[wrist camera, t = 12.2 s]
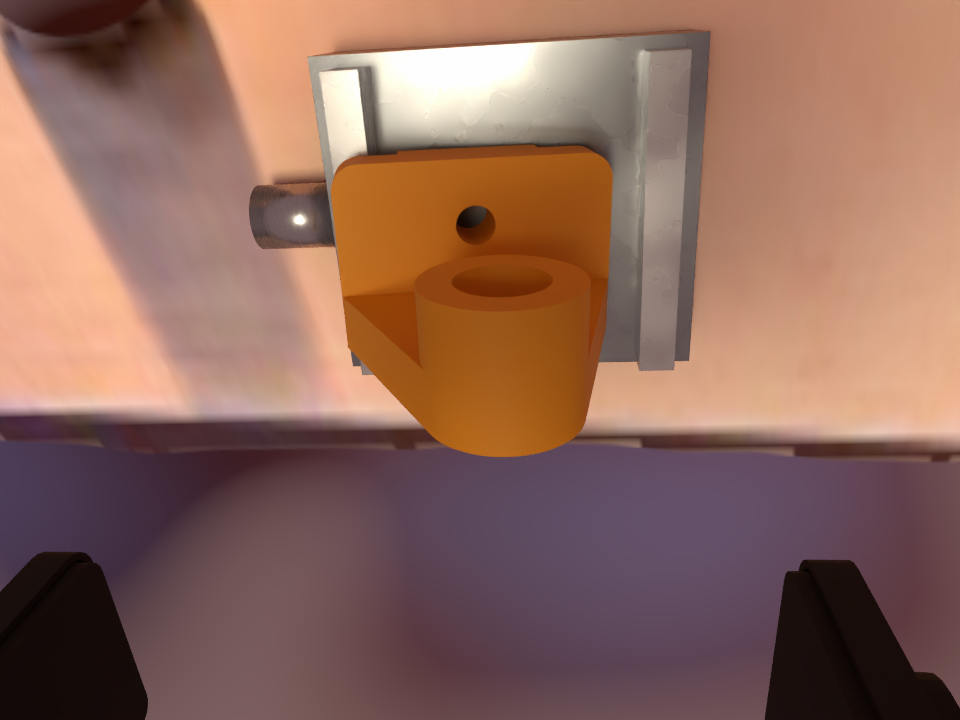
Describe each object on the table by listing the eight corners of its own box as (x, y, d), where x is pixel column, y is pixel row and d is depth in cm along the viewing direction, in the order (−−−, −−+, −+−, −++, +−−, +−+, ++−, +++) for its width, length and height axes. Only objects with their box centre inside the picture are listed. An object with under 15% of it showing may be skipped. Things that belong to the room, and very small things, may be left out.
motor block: (692, 29, 32) (721, 32, 27) (676, 327, 38) (696, 379, 32) (249, 57, 34) (192, 65, 29) (299, 335, 40) (259, 385, 35)
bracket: (595, 141, 30) (715, 205, 20) (589, 305, 33) (690, 440, 23) (331, 154, 29) (305, 229, 18) (350, 323, 32) (336, 472, 22)
